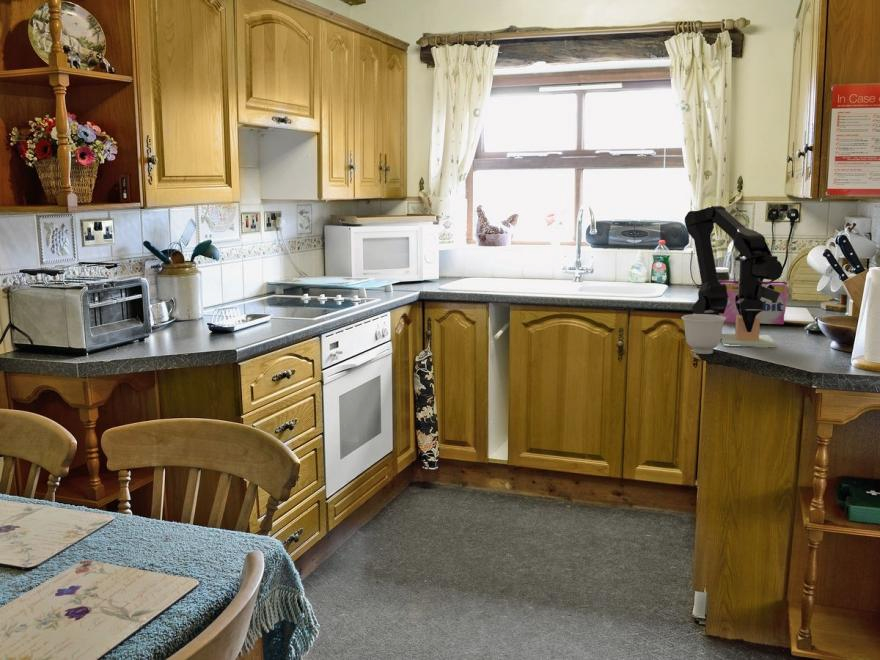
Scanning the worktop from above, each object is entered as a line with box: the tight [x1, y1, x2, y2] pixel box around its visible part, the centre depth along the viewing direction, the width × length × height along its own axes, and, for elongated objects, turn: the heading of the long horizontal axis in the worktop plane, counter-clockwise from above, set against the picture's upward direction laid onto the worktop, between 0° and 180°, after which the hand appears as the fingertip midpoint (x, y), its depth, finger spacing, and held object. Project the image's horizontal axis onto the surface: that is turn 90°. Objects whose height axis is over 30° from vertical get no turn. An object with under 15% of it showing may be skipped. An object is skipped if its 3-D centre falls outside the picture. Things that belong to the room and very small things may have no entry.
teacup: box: [680, 313, 726, 355], centre depth 234 cm, size 12×15×10 cm
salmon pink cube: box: [734, 315, 761, 341], centre depth 245 cm, size 6×6×7 cm
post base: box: [720, 333, 777, 348], centre depth 245 cm, size 14×14×6 cm
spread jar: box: [716, 267, 731, 281], centre depth 347 cm, size 12×11×12 cm
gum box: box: [719, 280, 790, 325], centre depth 282 cm, size 24×8×14 cm, turn 70°
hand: (747, 329), depth 245 cm, fingers open, 9 cm apart
